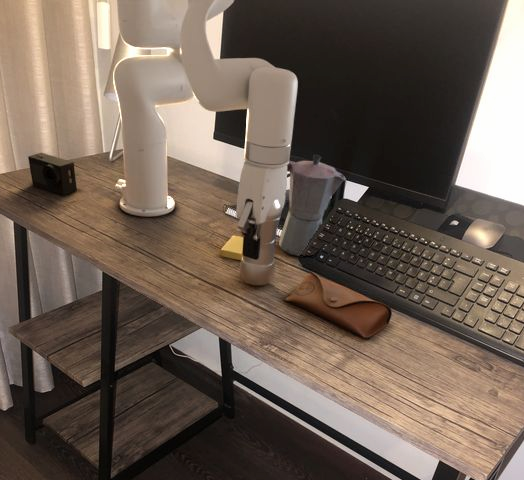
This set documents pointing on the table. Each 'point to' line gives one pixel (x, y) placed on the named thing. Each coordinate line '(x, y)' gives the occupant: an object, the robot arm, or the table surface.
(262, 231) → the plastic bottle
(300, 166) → the moka pot
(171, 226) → the table surface
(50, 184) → the digital camera
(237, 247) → the sticky note pad
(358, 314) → the sunglasses case
